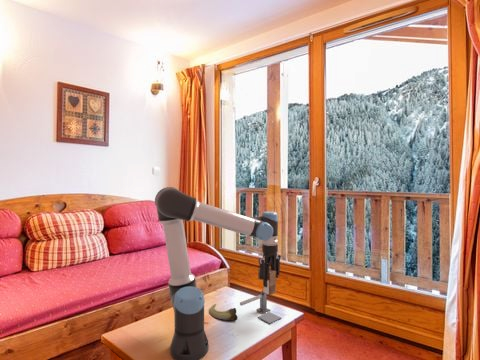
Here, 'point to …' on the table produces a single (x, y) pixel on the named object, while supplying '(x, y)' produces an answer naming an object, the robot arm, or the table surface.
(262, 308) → the grey lever handle
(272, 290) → the tan brick
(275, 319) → the mat
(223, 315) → the claw
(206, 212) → the robot arm
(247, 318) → the table surface
